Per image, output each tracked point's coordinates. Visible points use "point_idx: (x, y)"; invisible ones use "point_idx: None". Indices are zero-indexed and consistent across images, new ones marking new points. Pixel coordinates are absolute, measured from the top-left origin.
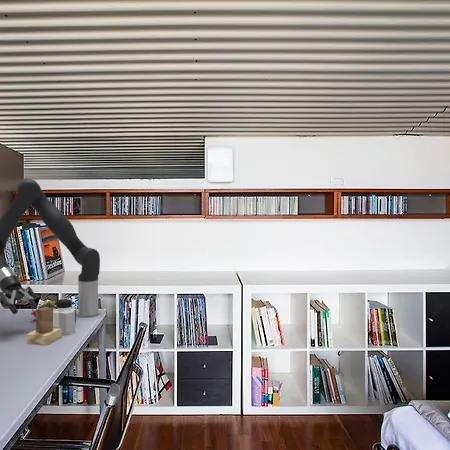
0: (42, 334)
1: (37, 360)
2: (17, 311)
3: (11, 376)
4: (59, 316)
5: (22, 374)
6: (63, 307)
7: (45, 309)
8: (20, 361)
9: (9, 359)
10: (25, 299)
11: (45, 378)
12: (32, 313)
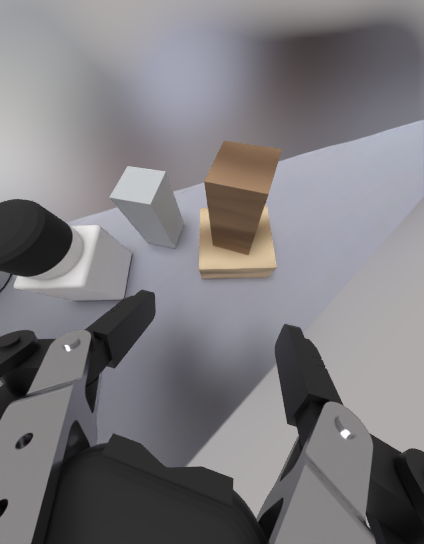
0: (261, 222)
1: (341, 186)
2: (286, 325)
3: (421, 178)
4: (158, 212)
5: (402, 169)
6: (68, 230)
7: (252, 155)
8: (364, 210)
9: (370, 238)
10: (93, 415)
11: (388, 135)
12: None
